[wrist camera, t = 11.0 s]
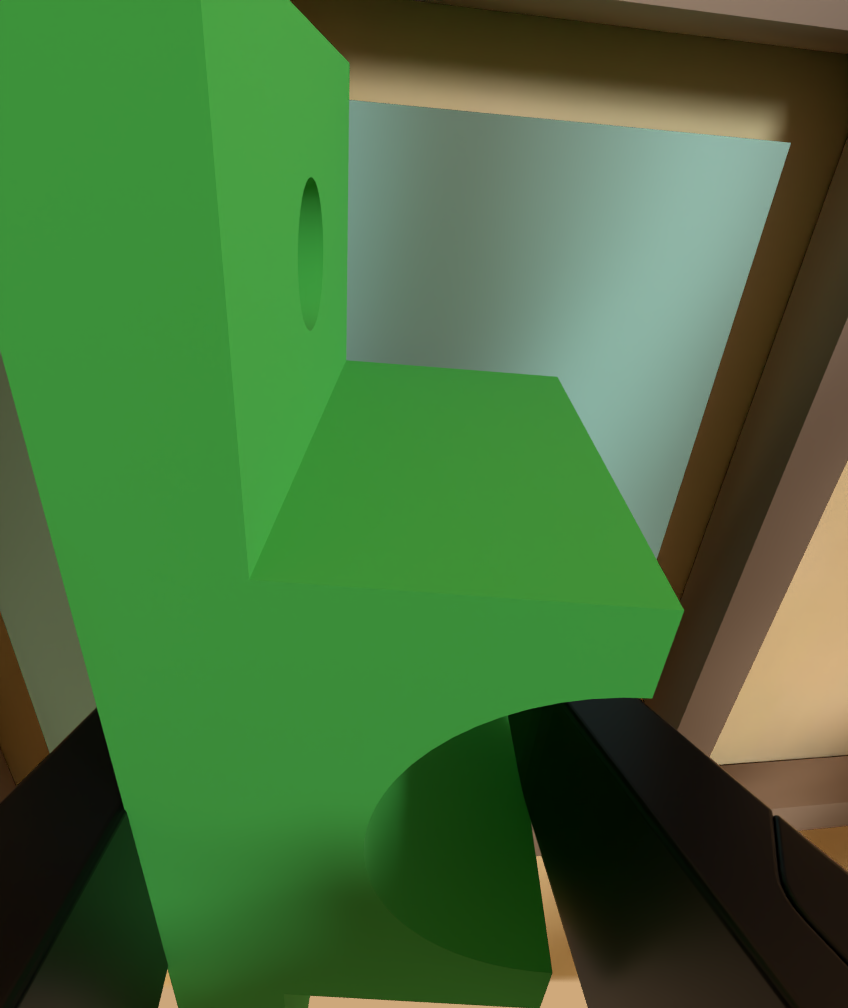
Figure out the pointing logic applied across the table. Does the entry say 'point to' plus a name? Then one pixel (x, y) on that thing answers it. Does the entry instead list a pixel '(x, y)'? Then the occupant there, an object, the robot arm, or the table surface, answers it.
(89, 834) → the robot arm
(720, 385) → the table surface
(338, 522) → the pipe clamp
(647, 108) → the table surface
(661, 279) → the sorting frame
